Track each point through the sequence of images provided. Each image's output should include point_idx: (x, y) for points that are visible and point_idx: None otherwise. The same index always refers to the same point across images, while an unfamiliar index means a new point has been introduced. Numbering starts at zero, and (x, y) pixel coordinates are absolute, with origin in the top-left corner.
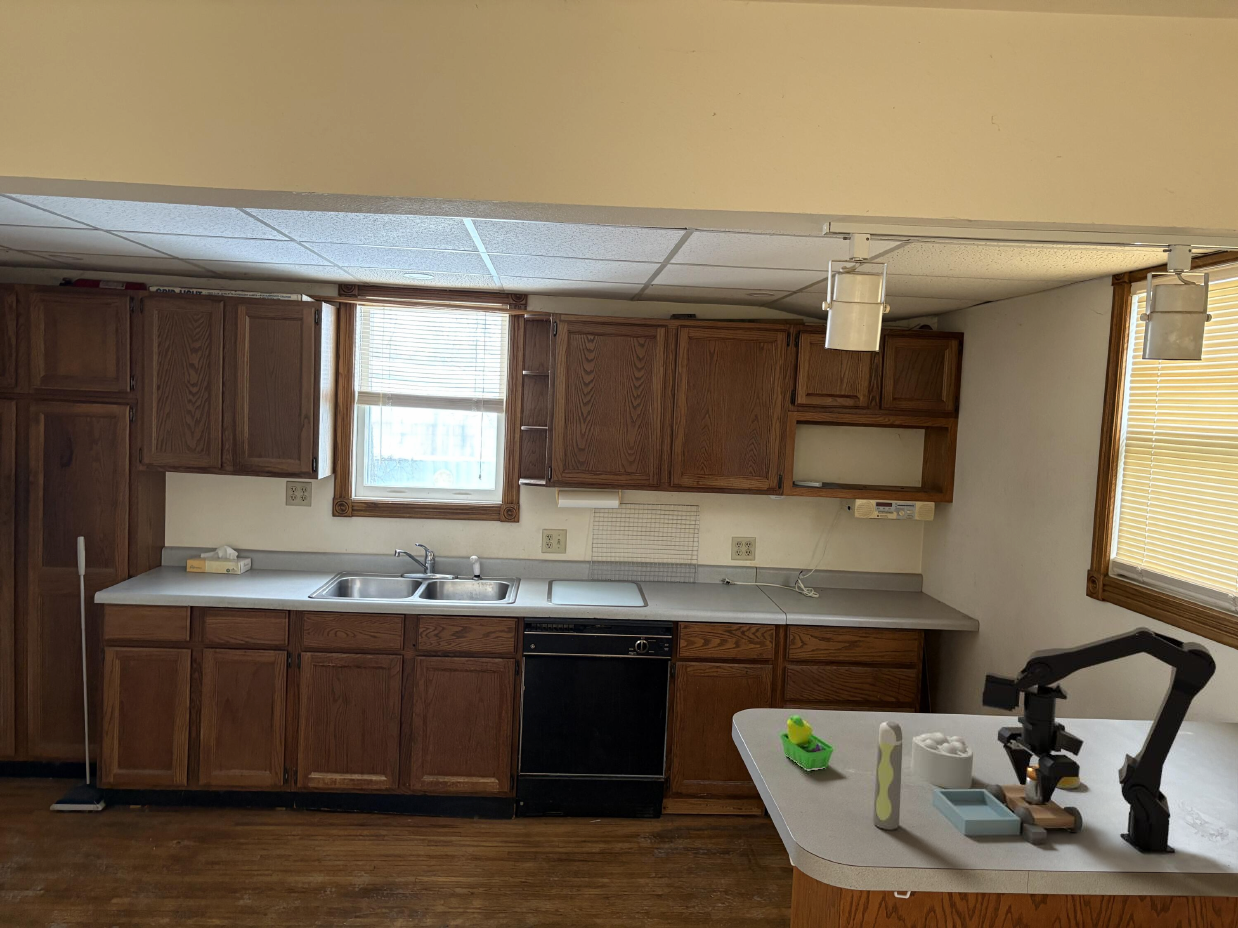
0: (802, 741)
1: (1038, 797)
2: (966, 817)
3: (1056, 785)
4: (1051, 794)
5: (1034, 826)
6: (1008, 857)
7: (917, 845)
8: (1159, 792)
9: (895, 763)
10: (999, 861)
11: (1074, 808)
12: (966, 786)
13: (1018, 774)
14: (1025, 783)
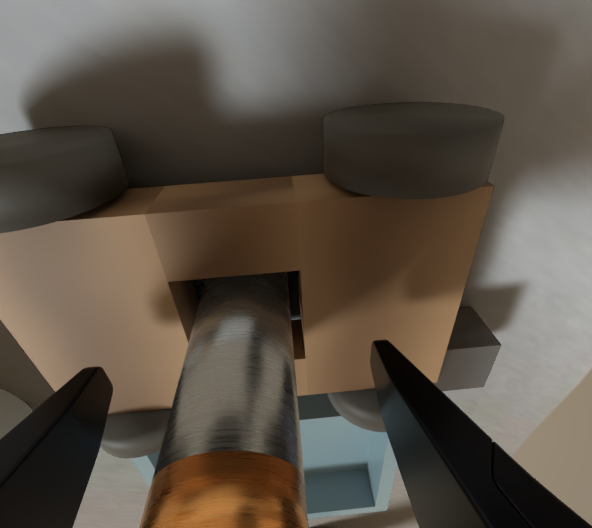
0: None
1: (292, 350)
2: (371, 506)
3: (525, 473)
4: (431, 387)
5: (447, 366)
6: (501, 415)
7: (401, 516)
8: None
9: None
10: (509, 434)
11: (450, 156)
12: (7, 407)
13: (87, 480)
14: (97, 374)
